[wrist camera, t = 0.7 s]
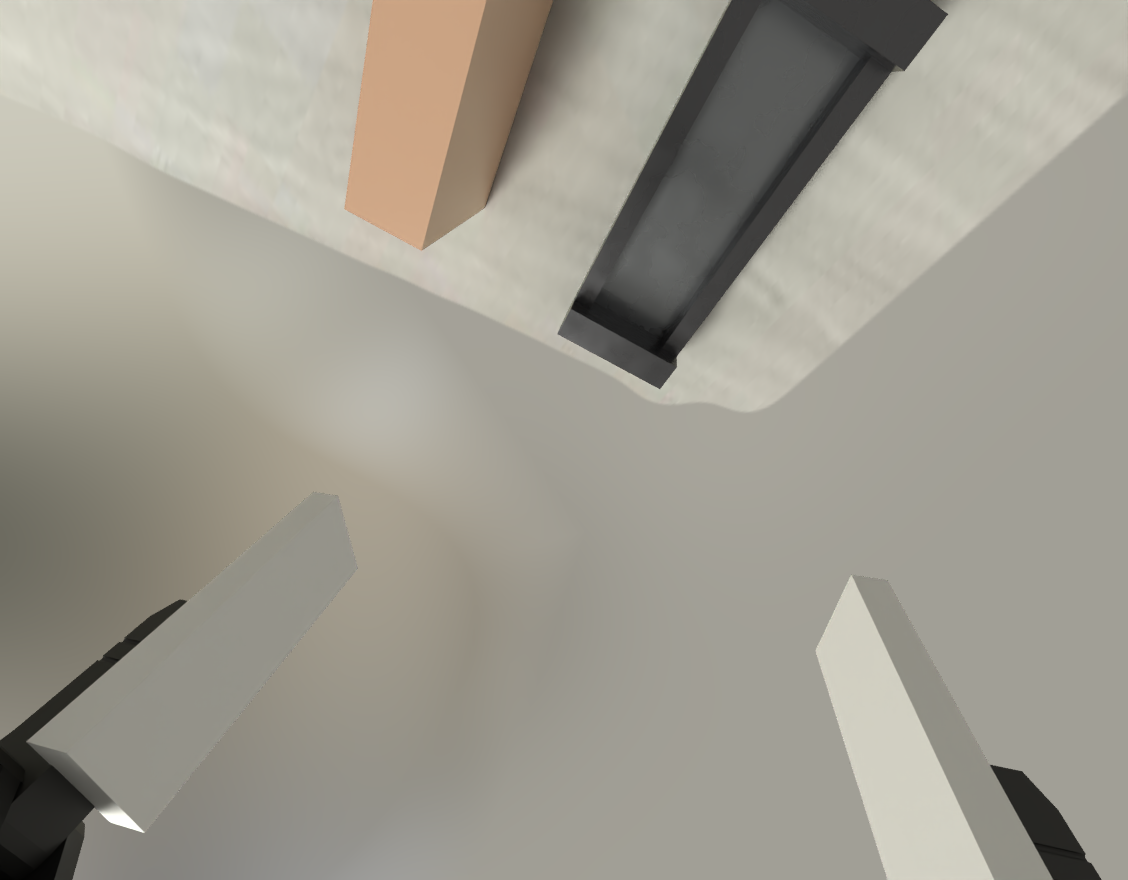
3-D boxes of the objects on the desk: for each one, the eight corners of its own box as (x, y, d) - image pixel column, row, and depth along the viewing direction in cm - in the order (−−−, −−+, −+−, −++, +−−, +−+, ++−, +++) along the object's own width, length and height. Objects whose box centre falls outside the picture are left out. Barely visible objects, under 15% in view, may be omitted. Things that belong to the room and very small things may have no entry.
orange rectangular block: (503, -132, 21) (407, -257, 13) (579, -79, 22) (530, -170, 14) (429, 176, 30) (344, 209, 22) (484, 207, 30) (421, 250, 23)
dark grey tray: (770, -78, 21) (788, -107, 17) (908, 24, 22) (948, 14, 19) (567, 310, 33) (557, 333, 30) (660, 361, 35) (659, 389, 32)
